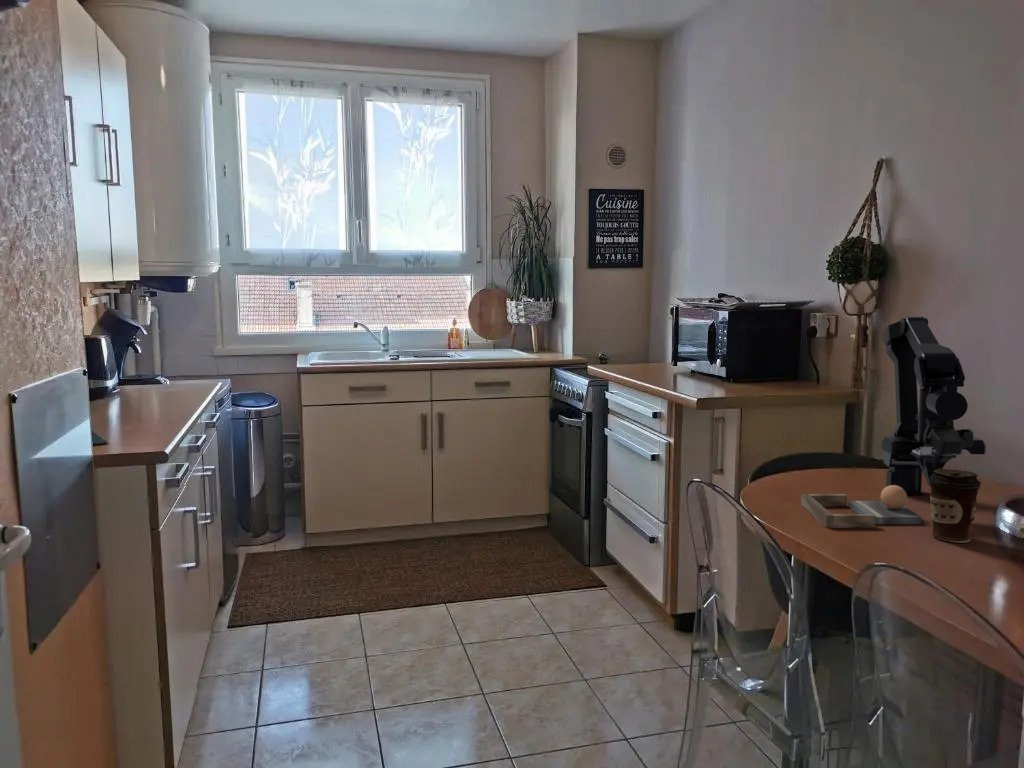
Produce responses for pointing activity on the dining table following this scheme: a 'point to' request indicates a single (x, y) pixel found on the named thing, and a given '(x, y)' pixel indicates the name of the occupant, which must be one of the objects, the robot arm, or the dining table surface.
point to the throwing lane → (865, 510)
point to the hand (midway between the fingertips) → (930, 485)
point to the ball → (893, 497)
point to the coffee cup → (953, 503)
